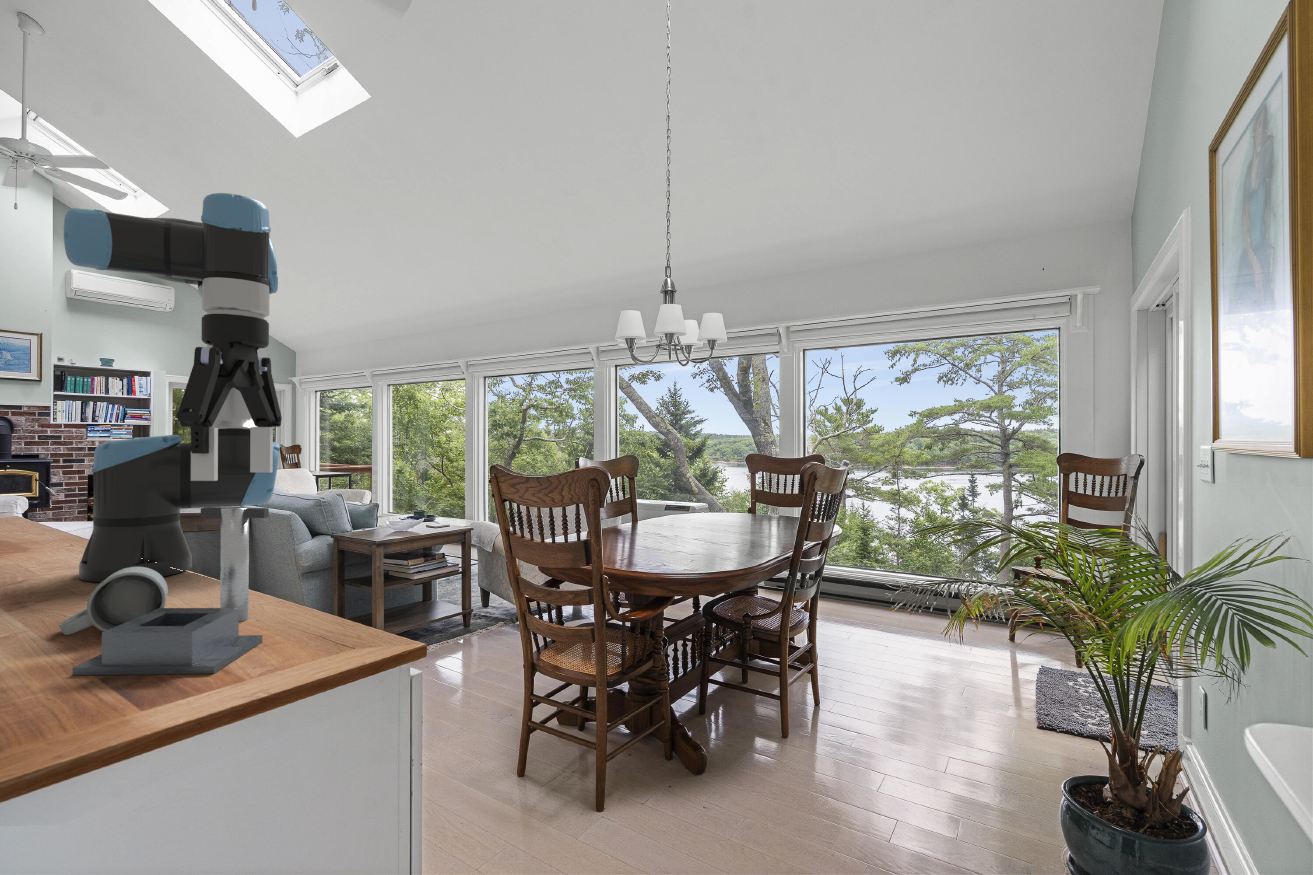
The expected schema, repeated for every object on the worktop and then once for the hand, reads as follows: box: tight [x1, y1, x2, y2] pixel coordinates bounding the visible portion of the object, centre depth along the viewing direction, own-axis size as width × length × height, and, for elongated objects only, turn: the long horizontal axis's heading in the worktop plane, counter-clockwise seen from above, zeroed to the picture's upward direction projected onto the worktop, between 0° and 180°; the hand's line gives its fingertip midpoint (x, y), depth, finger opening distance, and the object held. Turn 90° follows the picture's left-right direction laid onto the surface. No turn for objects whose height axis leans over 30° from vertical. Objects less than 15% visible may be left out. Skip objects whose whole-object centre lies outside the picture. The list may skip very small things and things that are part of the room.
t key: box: [200, 506, 270, 623], centre depth 87 cm, size 8×3×15 cm, turn 95°
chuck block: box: [71, 607, 263, 676], centre depth 74 cm, size 10×14×4 cm
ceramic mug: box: [58, 567, 169, 636], centre depth 83 cm, size 11×8×8 cm
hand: (235, 476), depth 87 cm, fingers open, 13 cm apart
